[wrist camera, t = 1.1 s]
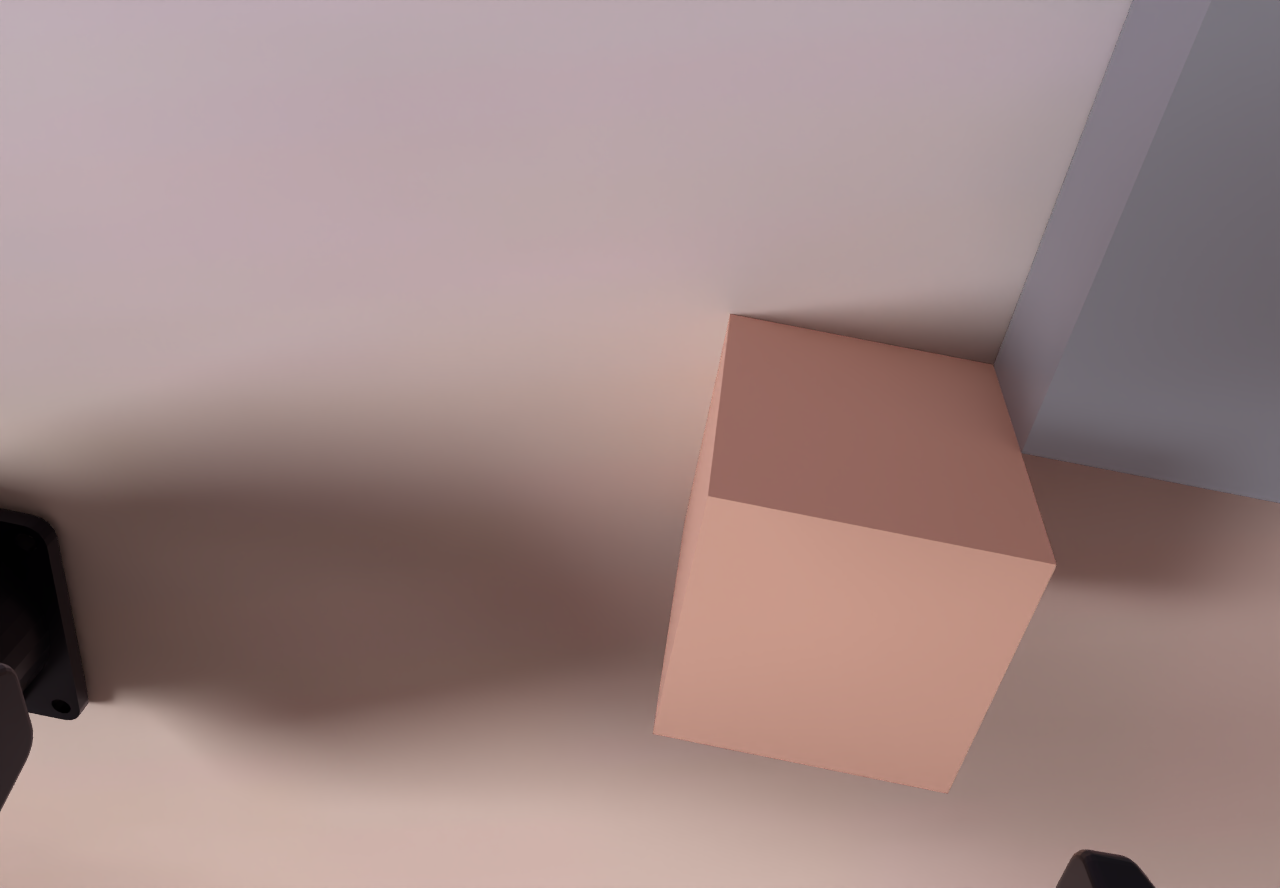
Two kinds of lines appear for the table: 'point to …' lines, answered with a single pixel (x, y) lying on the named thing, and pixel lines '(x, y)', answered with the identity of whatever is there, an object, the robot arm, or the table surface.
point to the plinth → (1164, 263)
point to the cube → (850, 557)
